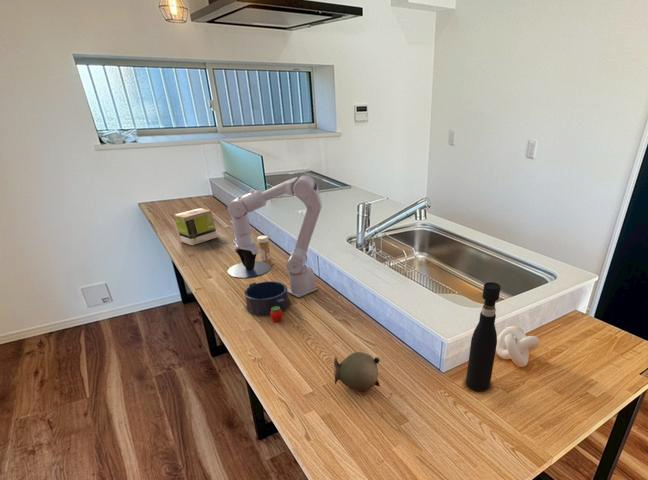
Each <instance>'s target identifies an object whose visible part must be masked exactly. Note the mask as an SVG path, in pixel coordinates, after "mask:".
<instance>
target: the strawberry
mask: <svg viewBox="0 0 648 480" xmlns="http://www.w3.org/2000/svg"><path fill="white" fill-rule="evenodd" d="M283 312H284V311H282V310H281V309H280V307H279V306H274V307H272V308H271V312H270V315H269V316H270V318H271V320H272V321H273V322H274V323H275V324H276V323H277V324H279V323H281V320H282V318H283V316H284V315H283V314H284V313H283Z"/></svg>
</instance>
